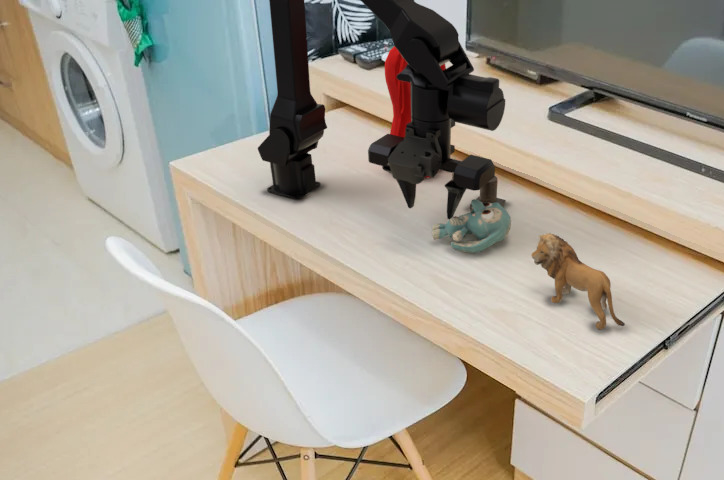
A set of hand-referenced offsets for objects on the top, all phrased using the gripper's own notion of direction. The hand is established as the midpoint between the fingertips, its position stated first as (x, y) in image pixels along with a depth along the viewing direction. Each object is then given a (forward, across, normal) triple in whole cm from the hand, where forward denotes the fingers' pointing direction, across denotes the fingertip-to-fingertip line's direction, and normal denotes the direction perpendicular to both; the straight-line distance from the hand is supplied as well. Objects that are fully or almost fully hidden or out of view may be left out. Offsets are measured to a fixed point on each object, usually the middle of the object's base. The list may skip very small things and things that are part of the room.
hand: (430, 212), depth 121 cm
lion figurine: (+2, +28, -10) cm, 29 cm away
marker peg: (+2, +5, +11) cm, 12 cm away
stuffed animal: (+2, +8, 0) cm, 8 cm away
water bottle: (+3, -12, +16) cm, 21 cm away
